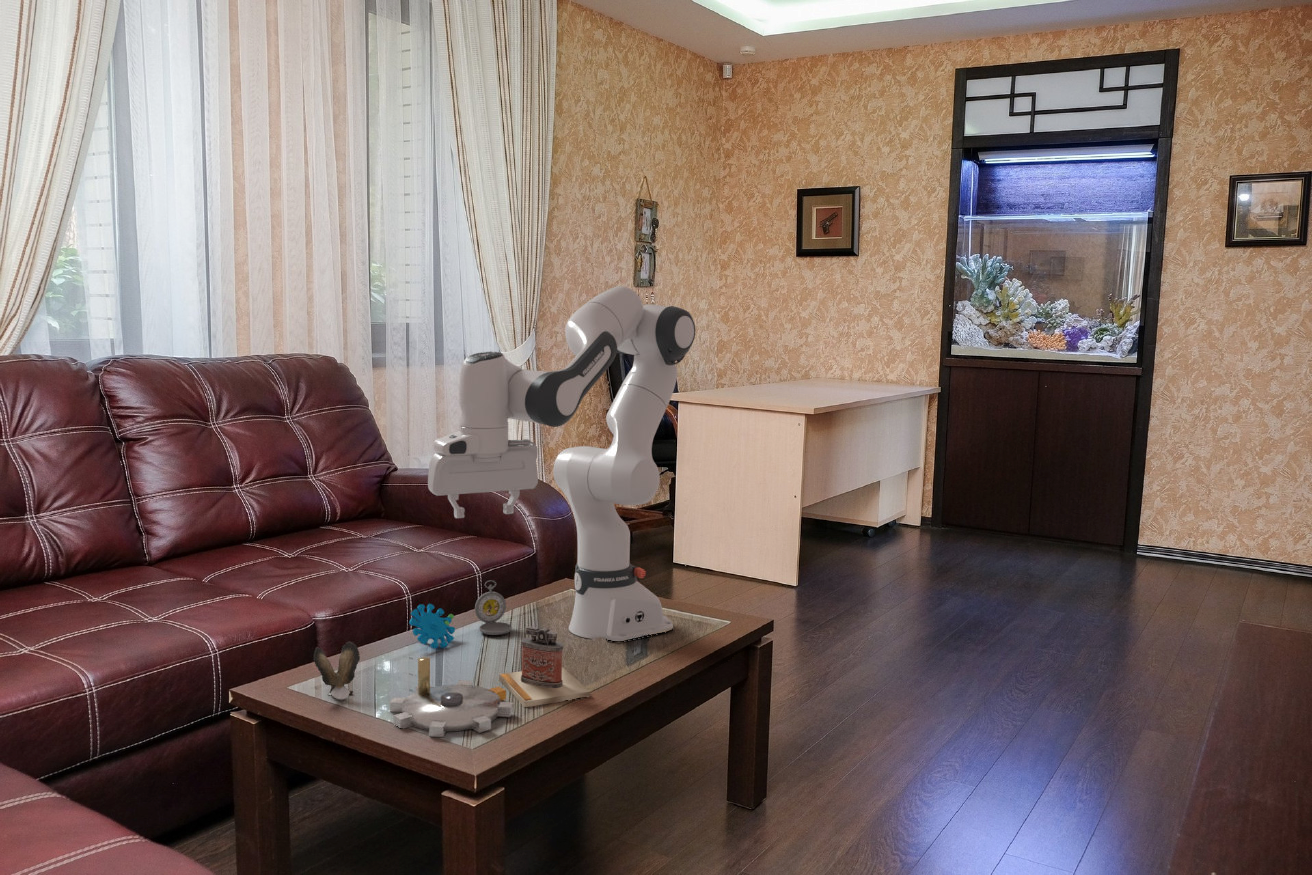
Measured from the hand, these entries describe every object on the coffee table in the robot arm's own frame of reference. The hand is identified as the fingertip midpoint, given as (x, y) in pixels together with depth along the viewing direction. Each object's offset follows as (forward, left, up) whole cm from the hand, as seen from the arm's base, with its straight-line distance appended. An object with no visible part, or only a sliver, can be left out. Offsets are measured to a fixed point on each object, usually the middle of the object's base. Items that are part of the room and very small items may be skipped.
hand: (484, 515), depth 187 cm
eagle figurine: (+27, +6, -29) cm, 40 cm away
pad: (-6, +15, -29) cm, 33 cm away
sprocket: (+12, +20, -29) cm, 37 cm away
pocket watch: (-8, -20, -29) cm, 36 cm away
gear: (+4, -14, -30) cm, 33 cm away
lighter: (-6, +15, -28) cm, 32 cm away
